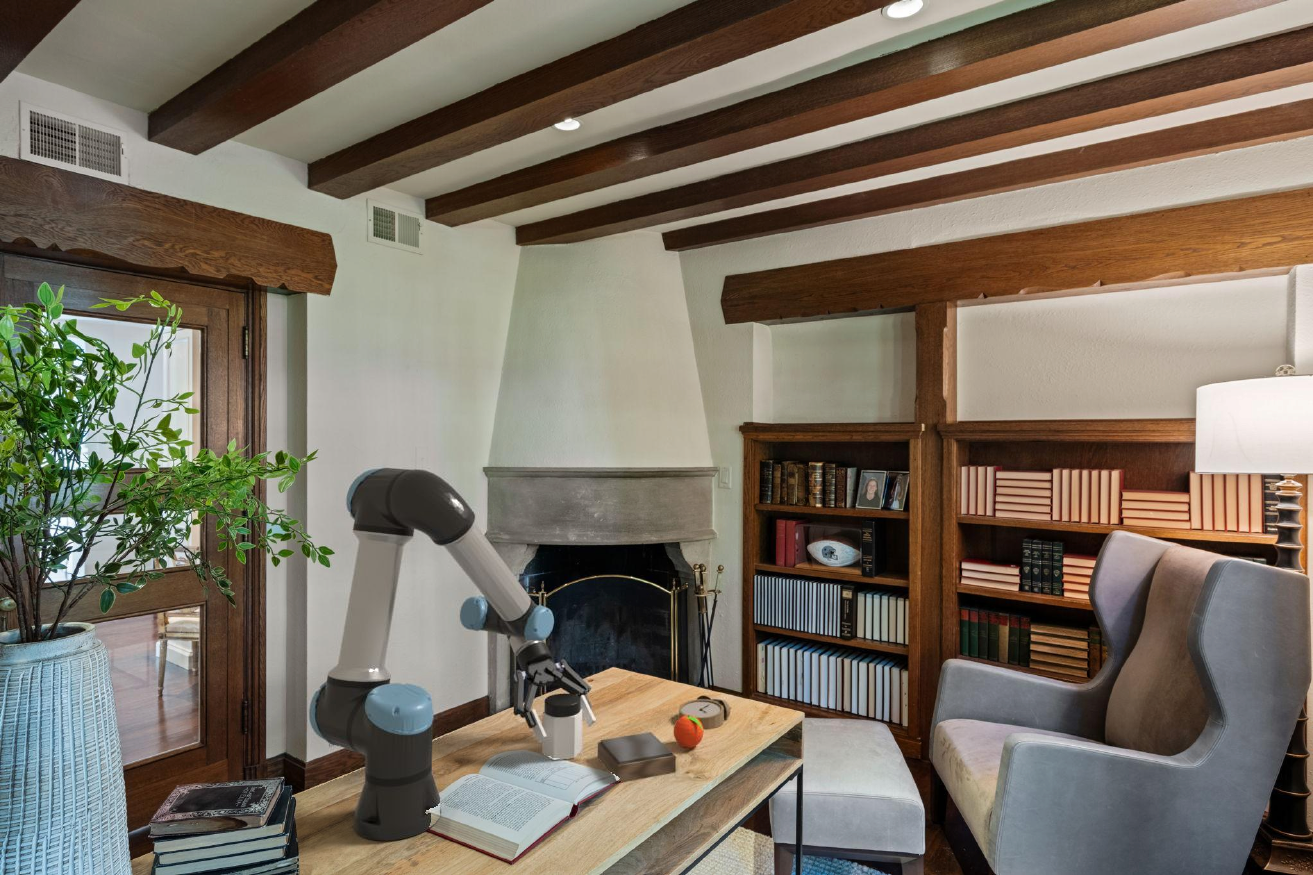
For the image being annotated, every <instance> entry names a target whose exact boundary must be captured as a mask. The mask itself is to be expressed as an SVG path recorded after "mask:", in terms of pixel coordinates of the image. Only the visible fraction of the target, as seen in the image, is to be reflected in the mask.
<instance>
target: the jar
mask: <svg viewBox="0 0 1313 875" xmlns="http://www.w3.org/2000/svg"><path fill="white" fill-rule="evenodd" d="M543 710H544V711H543V712H542V720H541V721H542V722H541V724H542V726H543V728H544V731H545V733H546V735H547V736H546V738H545V739H544V740H543V741H542V742H541V743H542V744H541V745H542V746H541V754H542V755H543V754H545V755H546V756H551V757H552V758H560V759H567V760H570V759H569V758H574V759H576V758H577V756H578V755H580V753H581V752H582V751H583V715H582V709H581V699H580V697H579V696H577V695H574V694H570V693H554V694H551V695H548V696H547V697H545V699H544V708H543ZM577 754H578V755H577ZM545 755H544V756H545ZM546 756H545V757H546Z"/></svg>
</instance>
